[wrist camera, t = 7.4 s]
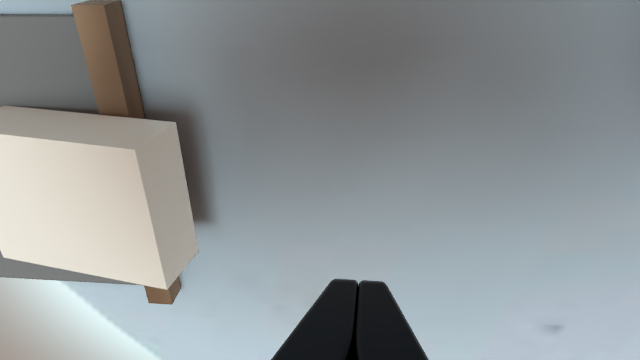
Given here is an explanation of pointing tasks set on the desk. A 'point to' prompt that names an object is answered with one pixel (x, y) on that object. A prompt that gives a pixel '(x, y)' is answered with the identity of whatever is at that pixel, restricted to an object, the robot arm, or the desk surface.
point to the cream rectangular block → (95, 195)
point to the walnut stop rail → (113, 79)
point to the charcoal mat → (44, 96)
